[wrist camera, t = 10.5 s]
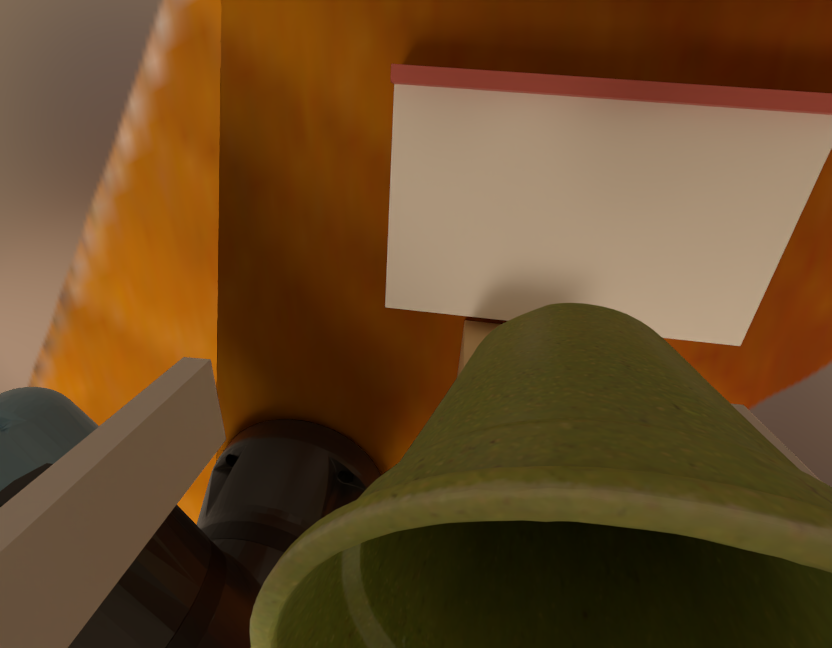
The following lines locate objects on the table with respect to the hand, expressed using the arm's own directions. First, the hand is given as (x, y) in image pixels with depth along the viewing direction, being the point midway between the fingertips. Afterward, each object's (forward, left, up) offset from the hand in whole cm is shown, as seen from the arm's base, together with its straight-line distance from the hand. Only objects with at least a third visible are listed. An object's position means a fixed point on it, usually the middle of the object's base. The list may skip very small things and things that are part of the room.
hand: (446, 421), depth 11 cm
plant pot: (+4, 0, -2) cm, 4 cm away
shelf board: (+7, +3, -18) cm, 20 cm away
